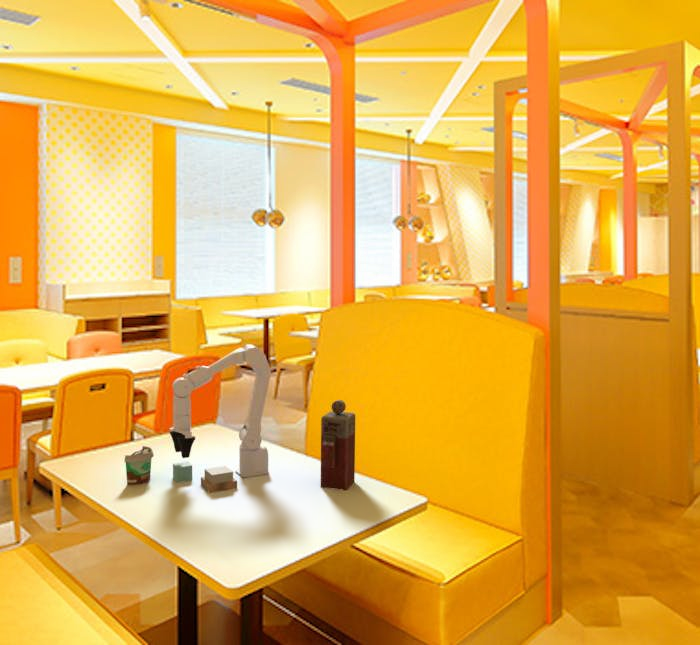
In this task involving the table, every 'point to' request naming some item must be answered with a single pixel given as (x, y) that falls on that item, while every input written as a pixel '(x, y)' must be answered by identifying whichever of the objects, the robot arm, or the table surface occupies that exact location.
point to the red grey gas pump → (338, 448)
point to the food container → (139, 466)
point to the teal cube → (182, 471)
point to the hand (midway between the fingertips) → (182, 454)
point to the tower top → (218, 475)
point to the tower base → (218, 485)
